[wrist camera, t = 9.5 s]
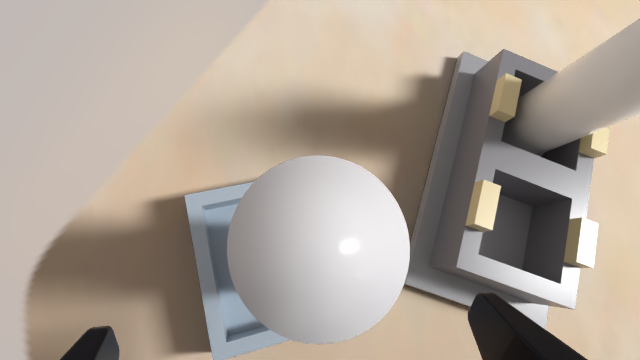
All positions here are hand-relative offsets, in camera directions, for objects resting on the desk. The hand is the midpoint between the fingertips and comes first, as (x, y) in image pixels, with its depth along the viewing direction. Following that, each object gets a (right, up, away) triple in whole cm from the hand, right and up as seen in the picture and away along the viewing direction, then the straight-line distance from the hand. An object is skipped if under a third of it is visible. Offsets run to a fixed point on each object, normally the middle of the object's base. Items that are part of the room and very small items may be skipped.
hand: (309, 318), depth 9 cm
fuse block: (+12, +3, +15) cm, 19 cm away
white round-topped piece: (-2, -1, +11) cm, 11 cm away
